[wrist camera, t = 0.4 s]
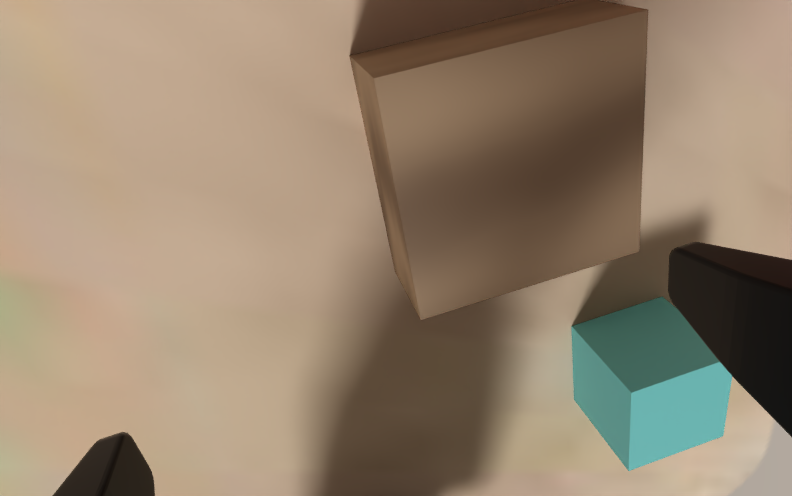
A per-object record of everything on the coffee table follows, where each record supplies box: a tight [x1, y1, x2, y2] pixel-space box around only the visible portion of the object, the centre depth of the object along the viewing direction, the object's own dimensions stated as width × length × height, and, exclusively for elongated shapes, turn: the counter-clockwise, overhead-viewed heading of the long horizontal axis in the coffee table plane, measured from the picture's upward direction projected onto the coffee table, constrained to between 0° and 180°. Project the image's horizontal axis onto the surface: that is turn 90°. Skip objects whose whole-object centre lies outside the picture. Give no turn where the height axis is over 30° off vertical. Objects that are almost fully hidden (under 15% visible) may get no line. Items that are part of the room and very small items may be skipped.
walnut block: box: [350, 0, 648, 320], centre depth 22 cm, size 9×9×4 cm
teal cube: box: [572, 297, 732, 471], centre depth 29 cm, size 5×5×5 cm
